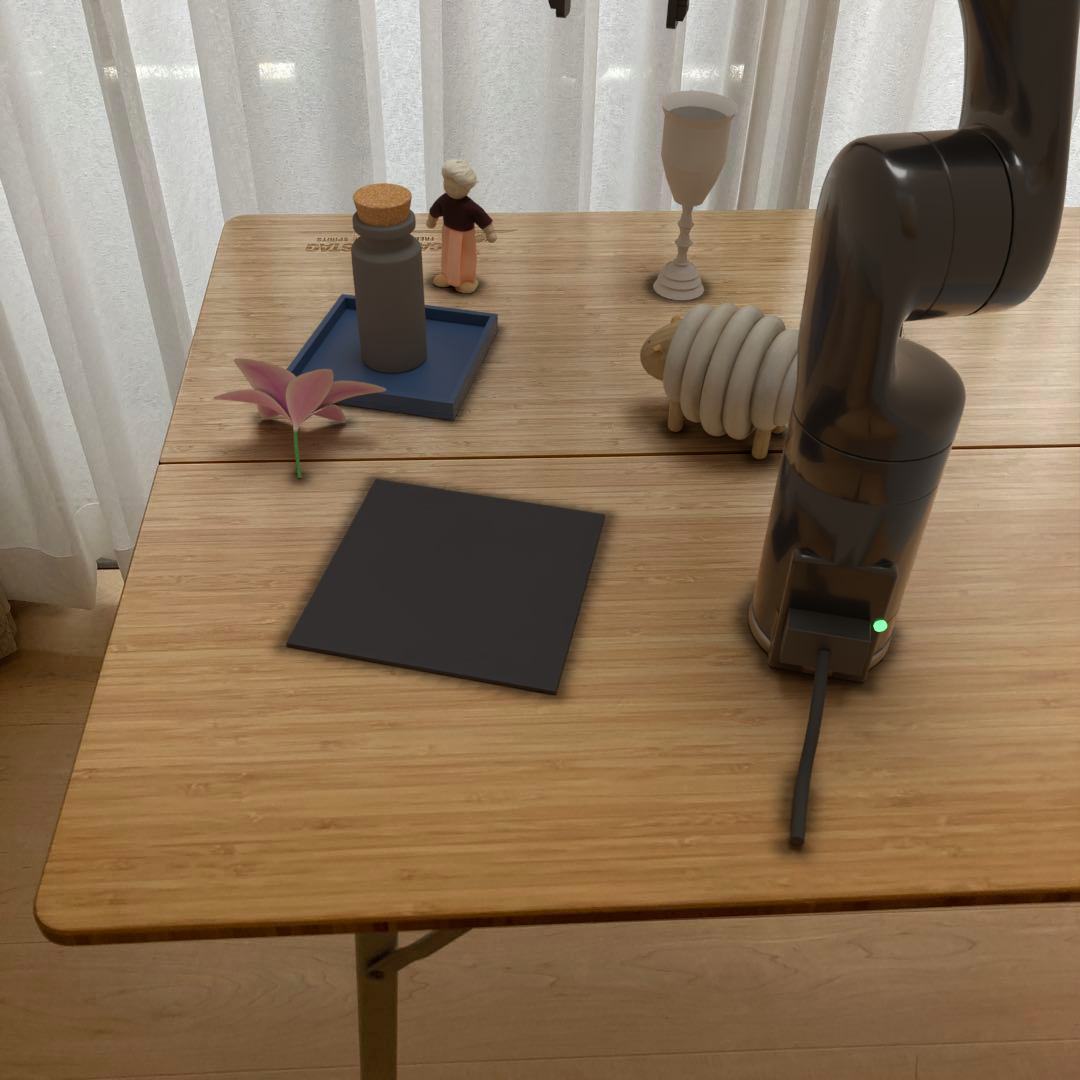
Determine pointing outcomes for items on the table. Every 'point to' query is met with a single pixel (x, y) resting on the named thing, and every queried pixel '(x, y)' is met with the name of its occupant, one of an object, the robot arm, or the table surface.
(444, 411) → the tray
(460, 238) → the grandmother figurine
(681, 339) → the toy sheep
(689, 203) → the chalice
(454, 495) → the mat
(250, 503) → the table surface
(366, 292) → the bottle
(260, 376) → the lily
